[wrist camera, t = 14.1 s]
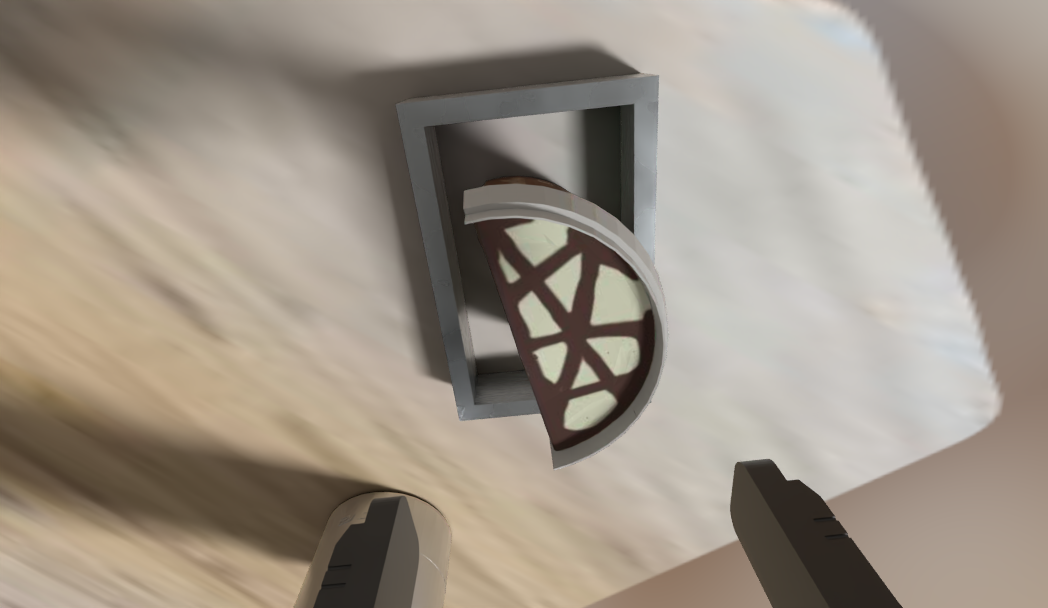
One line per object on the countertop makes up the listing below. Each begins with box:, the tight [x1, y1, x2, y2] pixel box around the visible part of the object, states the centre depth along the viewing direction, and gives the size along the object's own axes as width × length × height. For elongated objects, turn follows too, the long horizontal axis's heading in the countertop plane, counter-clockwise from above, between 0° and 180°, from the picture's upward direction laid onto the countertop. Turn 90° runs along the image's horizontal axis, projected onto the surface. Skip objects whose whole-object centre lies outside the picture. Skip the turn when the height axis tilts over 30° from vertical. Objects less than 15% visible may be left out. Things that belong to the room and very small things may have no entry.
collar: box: [396, 73, 659, 421], centre depth 26 cm, size 17×11×3 cm, turn 6°
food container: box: [463, 176, 669, 470], centre depth 22 cm, size 12×6×10 cm, turn 16°
